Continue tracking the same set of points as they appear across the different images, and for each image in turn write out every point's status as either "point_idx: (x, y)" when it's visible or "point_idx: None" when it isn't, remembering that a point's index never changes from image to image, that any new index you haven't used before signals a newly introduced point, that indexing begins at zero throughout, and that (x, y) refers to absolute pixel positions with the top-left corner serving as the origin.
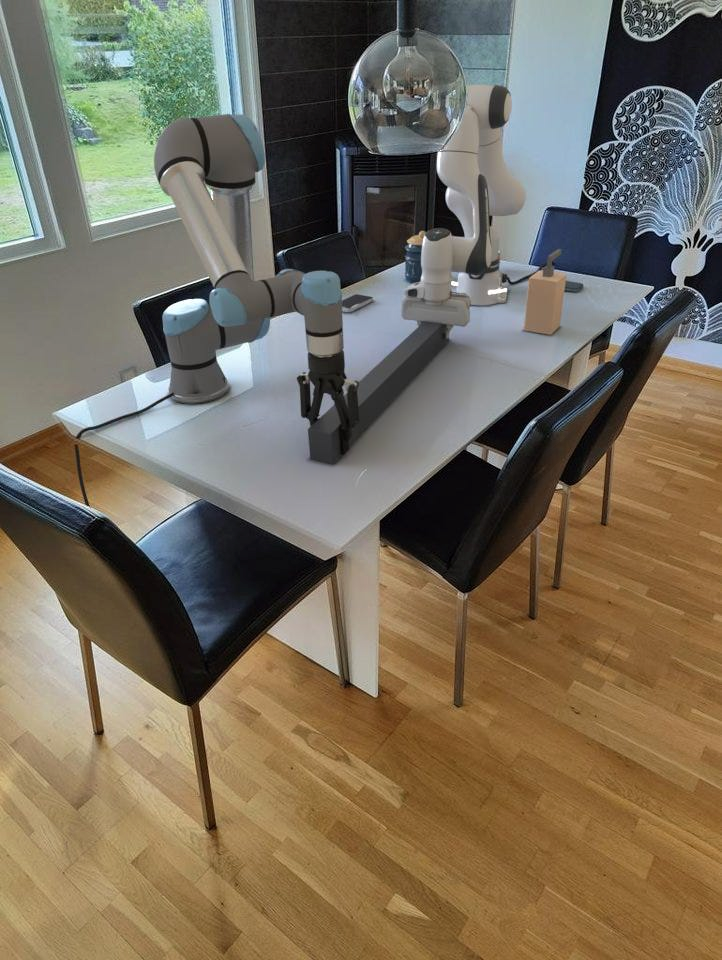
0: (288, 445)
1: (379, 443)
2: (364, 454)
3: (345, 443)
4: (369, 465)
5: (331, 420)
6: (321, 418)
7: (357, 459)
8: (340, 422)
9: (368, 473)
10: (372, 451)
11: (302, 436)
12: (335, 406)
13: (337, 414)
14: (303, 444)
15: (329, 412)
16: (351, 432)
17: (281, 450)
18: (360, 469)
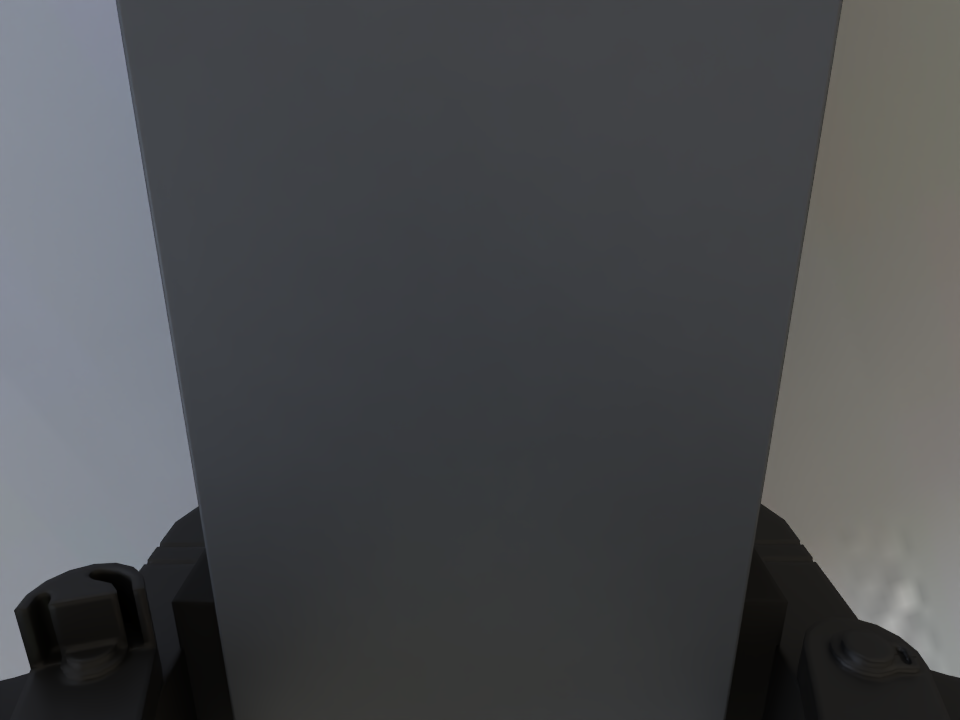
0: (17, 490)
1: (939, 86)
2: (824, 375)
3: None
4: (923, 528)
5: (493, 712)
6: (274, 713)
7: (781, 479)
8: (690, 718)
9: (942, 632)
10: (894, 290)
11: (6, 279)
12: (220, 113)
13: (488, 475)
14: (135, 423)
15: (272, 459)
16: (812, 561)
17: (28, 583)
18: (857, 605)
